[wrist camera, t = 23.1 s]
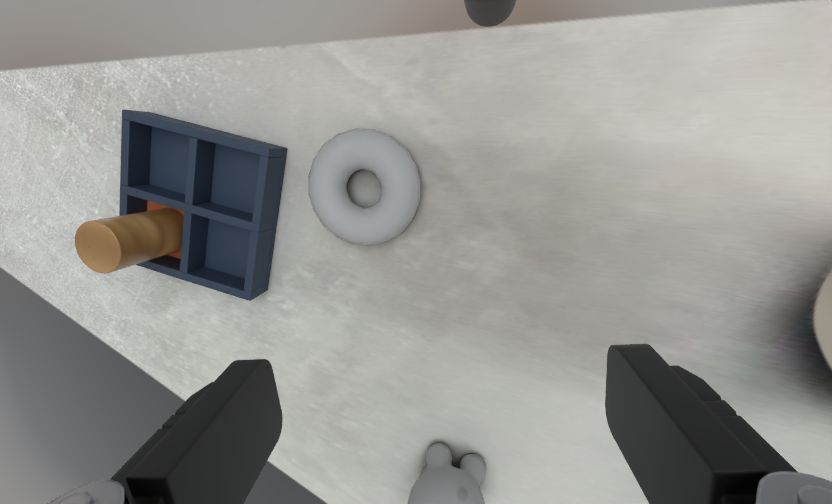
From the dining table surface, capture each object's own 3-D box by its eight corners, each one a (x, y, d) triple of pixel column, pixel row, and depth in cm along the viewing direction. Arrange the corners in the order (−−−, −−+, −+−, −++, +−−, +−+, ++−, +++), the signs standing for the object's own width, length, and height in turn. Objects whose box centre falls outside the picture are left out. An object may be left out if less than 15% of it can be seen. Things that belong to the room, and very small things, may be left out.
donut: (368, 261, 38) (447, 193, 35) (355, 272, 35) (442, 198, 32) (297, 180, 38) (372, 103, 35) (278, 184, 35) (358, 99, 31)
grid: (150, 112, 39) (121, 109, 36) (287, 148, 37) (269, 148, 34) (144, 251, 43) (118, 259, 40) (267, 290, 41) (250, 301, 38)
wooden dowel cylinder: (153, 202, 40) (74, 215, 33) (193, 214, 40) (121, 229, 32) (151, 244, 42) (74, 265, 34) (189, 255, 41) (120, 279, 33)
